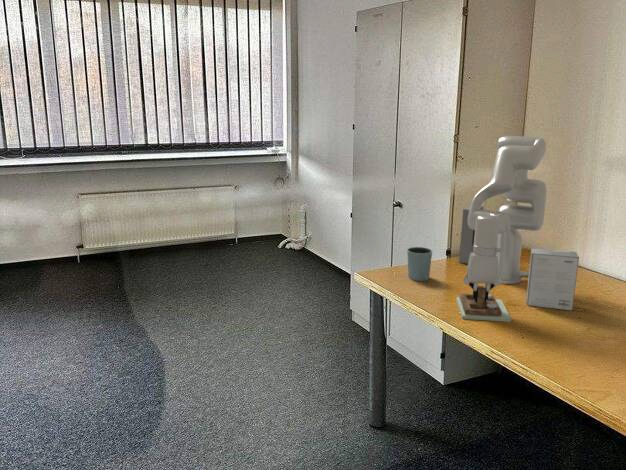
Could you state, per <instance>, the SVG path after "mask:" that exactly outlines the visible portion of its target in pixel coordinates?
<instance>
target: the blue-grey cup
mask: <svg viewBox="0 0 626 470" xmlns="http://www.w3.org/2000/svg"><path fill="white" fill-rule="evenodd" d="M406 252H407V253H406V254H407V273H408V274H407V276H408V279H410V280H411V281H416V282H425V281H429V279H430V275H431V274H430V272H431V265H432V258H433V257H432V255H433V250H432V249H431V248H427V247H424V246H423V247H422V246H421V247H420V246H415V247H414V246H413V247H409V248H407V251H406Z"/></svg>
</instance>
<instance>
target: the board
mask: <svg viewBox="0 0 626 470" xmlns="http://www.w3.org/2000/svg"><path fill="white" fill-rule="evenodd" d="M459 297H460V296H456V303H457V306H458V309H459V313H460V315H461V319H462V320H477V321H489V322H490V321H491V322H492V321H493V322H507V323H510V322H511V323H512V317H511V315H510V314H509V312H508V309H507V308H506V306H505V304H504V302H503V301H502V299H496V298H495V300H496V302H497V304H498V306H499V308H500V310H501V311H502V315H501V316H490V315H474V314H465V312H464V309H463V306H462V303H461V300H460V298H459ZM490 299H492V294H490V293H489V294H488V299H486V300H490ZM468 300H474V299H468ZM497 304H495V303H487V307H489V309H494V308H496V307H497ZM471 309H477V308H471ZM481 310H483V309H481Z"/></svg>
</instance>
